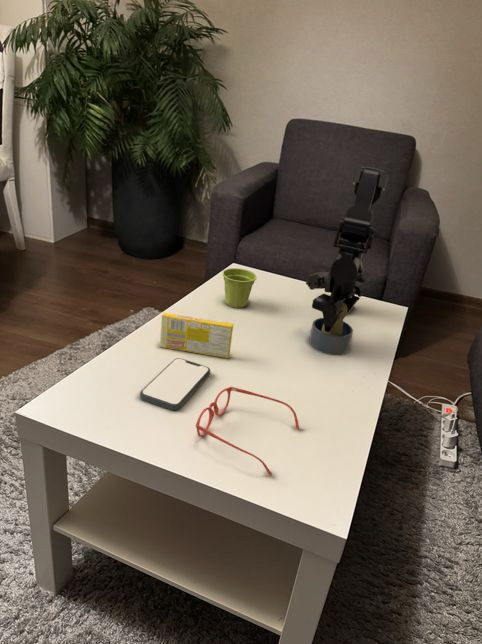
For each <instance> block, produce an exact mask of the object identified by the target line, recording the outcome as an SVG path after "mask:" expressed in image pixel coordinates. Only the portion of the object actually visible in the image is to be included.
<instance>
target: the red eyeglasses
mask: <svg viewBox="0 0 482 644" xmlns="http://www.w3.org/2000/svg"><path fill="white" fill-rule="evenodd" d="M224 392H227V399H226V404H225V406H224V408H223V410H222V411H221V412H220V413H219V407H218V404H217V403H218V400H219V397H220V396H221V395H222V394H223V393H224ZM231 392H236V393H241V394H245V395H250V396H254V397H259V398H262V399H265V400H266V399H267V400H269V401H273V402H276V403H280V404H282V405H284V406H286V407H287V408H288V409H289V410H290V411H291V412H292V415H293V416H294V417H293V418H294V423H295V424H294V425H295V428H296V430H298V431H299V430H300V425H299V420H298V416H297V414H296V411H295V409H294V408H293V407H292V406H291V405H290V404H288V403H287V402H284V401H282V400H279V399H277V398H272V397H269V396H266V395H262V394H259V393H256V392H253V391H250V390H245V389H242V388H238V387H234V386H229V387H226V388H224V389H222V390H221V391H219V392H218V394H217V395H216V397H215V399H214V401H213V402H210V403H209V405H208V406H207V407H205V408H203V410H202V411H201V413H200V415H199V416H198V418H197V421H196V423H195V428H196V433H197V436H198V437H199V438H203V437H205V435H208V436H209V437H212V438H214V439H216V440H218V441H220V442H222V443H224V444H226V445H228V446H230V447H231V448H234V449H236V450H237V451H240V452H242V453H244V454H246V455H249V456H251V457H253V458H254V459H256V460H258V461H259V462H260V463H261V464H262V466H263V467H264V469H265V471H266V473H267V474H268V475H270V476H272V475H273V473H272V472H271V470H270V469H269V467H268V466H267V464H266V463H265V462H264V461H263V460H262V459H261V458H259V457H258V456H256V455H255V454H253V453H251V452H249V451H247V450H245V449H243V448H241V447H239V446H236V445H235V444H233V443H231V442H229V441H227V440H225V439H223V438H222V437H220V436H218V435H217V434H215V433H213V432H212V431H210V430H209V428H210V426H211V424H212V421H213V419H214V417H215V416H217V417H221V416H222V415H223V414H224V413H226V411H227V408H228V406H229V403H230V401H231V400H230V399H231ZM206 411H208V420H207V421H208V422H207V424H206V428H205V427H203V426H201V424H200V423H201V419H202V417H203V415H204V413H205V412H206ZM200 431H201V432H202V434H201V432H200Z"/></svg>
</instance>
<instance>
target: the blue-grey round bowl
mask: <svg viewBox="0 0 482 644" xmlns="http://www.w3.org/2000/svg"><path fill="white" fill-rule="evenodd" d="M323 324H324V319H323V317H318V318H316V319H314V320H313V321H312V324H311V329H310V332H309V333H310V334H309V340H308V342H309V344H310V346H311V347H312V348H313V349H315V350H316V351H319V352H320V353H324V354H327V355H342V354H343V355H344V354H346V353H348V351H349V349H350V345H351V342H352V338H353V334H354V329H353V327H352V326H351V325H350V324H349V323H347V322H345V321H343V329H342V336H333V335H329V334H326V333H323V332H321V329H322V327H323Z"/></svg>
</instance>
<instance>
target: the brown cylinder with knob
mask: <svg viewBox="0 0 482 644" xmlns="http://www.w3.org/2000/svg"><path fill="white" fill-rule="evenodd" d="M342 303H343V302H342ZM347 310H348V308H347V305H346V304H345V303H343V307H342V311H343V312H342V314H341V315H340V317H339V318H338V320H337V321H336V323H335V324H334V326H333V327H332V329H331V330H330V332H326V331H325V328H324V324H323V327H322V329H321V332H323V333H326V334H329V335H333V336H342V329H343V322H344V319H345V318H344V316H346V317H347V315H348V314H347ZM346 314H347V315H346ZM343 318H344V319H343Z"/></svg>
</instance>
